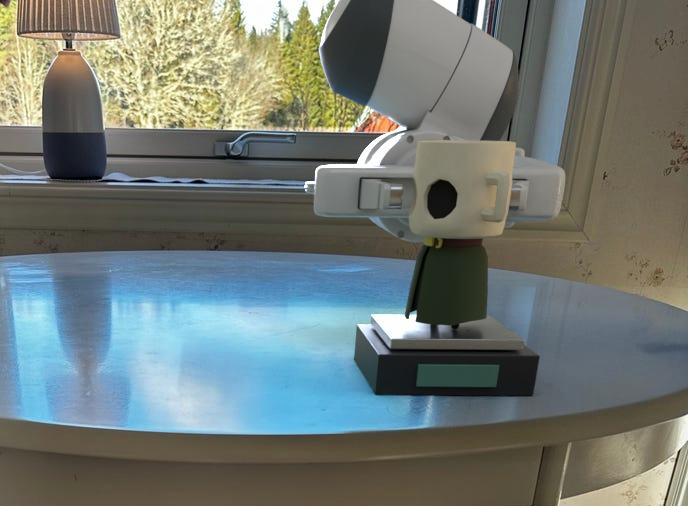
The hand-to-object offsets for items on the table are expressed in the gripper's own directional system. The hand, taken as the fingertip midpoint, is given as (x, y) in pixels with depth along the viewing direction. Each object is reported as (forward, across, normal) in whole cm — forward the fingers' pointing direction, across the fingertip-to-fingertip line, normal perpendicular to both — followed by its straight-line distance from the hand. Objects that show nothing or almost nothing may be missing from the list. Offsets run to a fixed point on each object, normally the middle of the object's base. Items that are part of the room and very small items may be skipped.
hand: (455, 198), depth 72 cm
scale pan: (+1, 0, +10) cm, 10 cm away
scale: (+1, 0, +13) cm, 13 cm away
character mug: (+1, 0, +9) cm, 9 cm away
